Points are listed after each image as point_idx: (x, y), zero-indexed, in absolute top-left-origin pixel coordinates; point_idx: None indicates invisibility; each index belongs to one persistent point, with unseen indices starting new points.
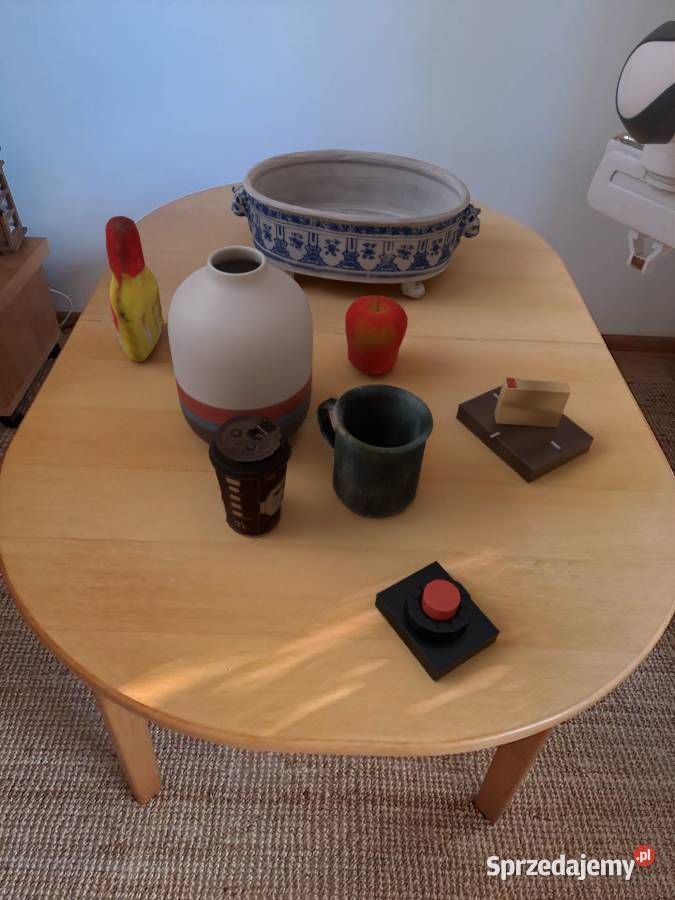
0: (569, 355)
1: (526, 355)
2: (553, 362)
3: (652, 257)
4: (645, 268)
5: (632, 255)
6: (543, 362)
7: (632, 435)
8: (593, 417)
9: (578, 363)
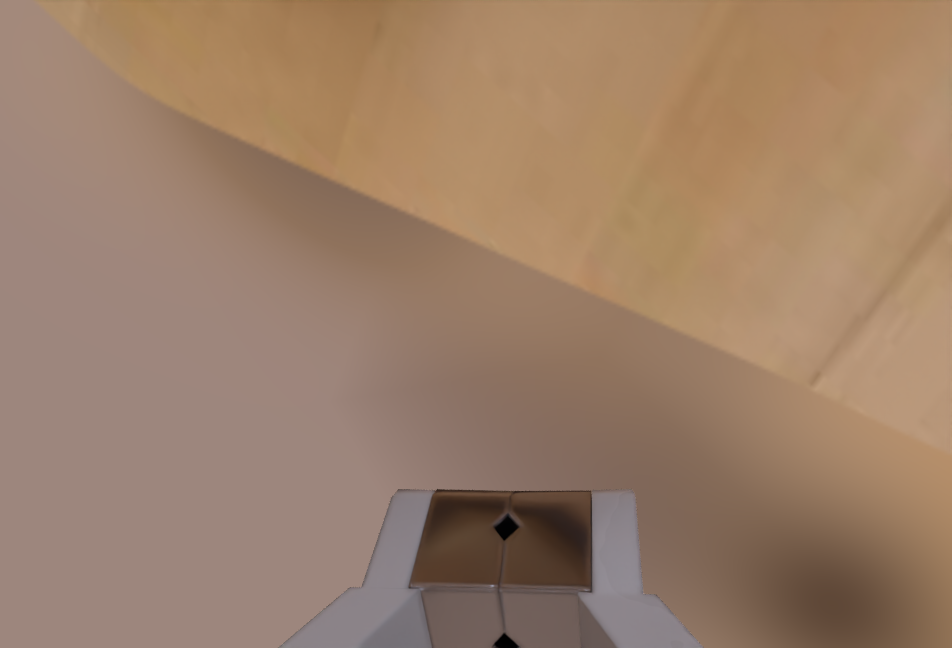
0: (810, 236)
1: (931, 44)
2: (812, 136)
3: (310, 636)
4: (388, 523)
5: (599, 574)
6: (839, 90)
7: (327, 129)
8: (452, 56)
9: (747, 233)
